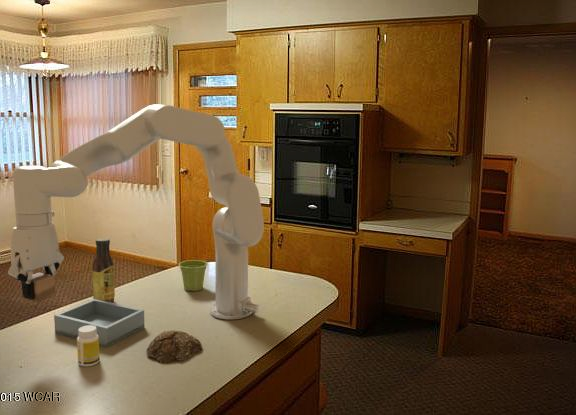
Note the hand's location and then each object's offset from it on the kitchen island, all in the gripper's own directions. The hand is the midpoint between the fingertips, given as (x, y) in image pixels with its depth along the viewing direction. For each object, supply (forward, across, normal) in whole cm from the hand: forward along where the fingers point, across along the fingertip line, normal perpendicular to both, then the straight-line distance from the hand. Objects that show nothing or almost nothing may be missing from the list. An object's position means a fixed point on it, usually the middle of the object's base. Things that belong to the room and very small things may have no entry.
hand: (39, 294), depth 125 cm
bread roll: (+16, -16, +26) cm, 35 cm away
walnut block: (+1, 0, 0) cm, 1 cm away
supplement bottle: (+15, -2, +13) cm, 20 cm away
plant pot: (+16, -57, +4) cm, 59 cm away
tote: (+15, -17, +2) cm, 23 cm away
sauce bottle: (+15, -33, -12) cm, 38 cm away
